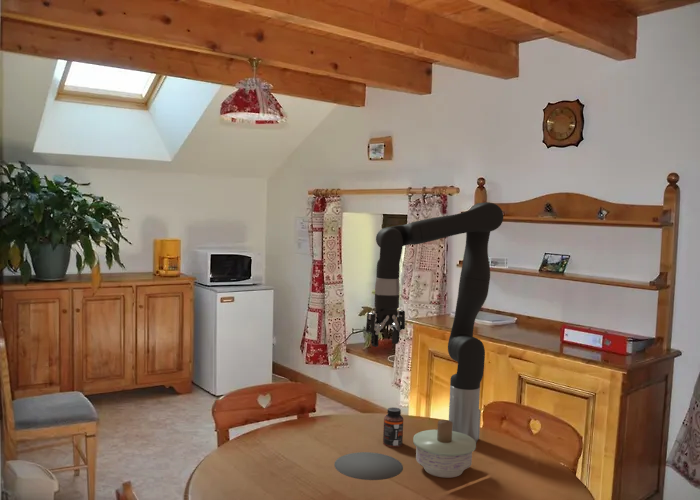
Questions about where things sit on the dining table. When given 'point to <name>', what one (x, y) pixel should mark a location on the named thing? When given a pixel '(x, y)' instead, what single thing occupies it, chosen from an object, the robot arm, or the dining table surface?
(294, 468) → the dining table surface
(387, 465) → the mat
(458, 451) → the lid
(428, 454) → the paper bowls
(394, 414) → the supplement bottle
